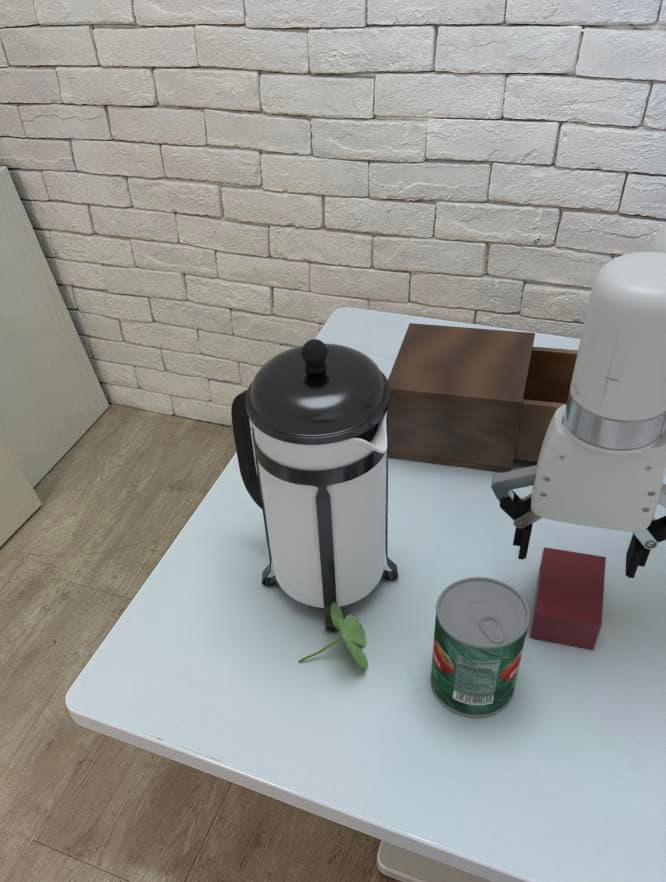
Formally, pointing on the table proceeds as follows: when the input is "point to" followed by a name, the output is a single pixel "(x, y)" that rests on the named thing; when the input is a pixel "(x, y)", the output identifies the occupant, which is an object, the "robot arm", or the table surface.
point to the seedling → (347, 635)
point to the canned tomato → (478, 645)
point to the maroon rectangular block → (569, 598)
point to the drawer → (543, 397)
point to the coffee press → (319, 471)
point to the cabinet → (458, 396)
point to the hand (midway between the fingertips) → (575, 558)
